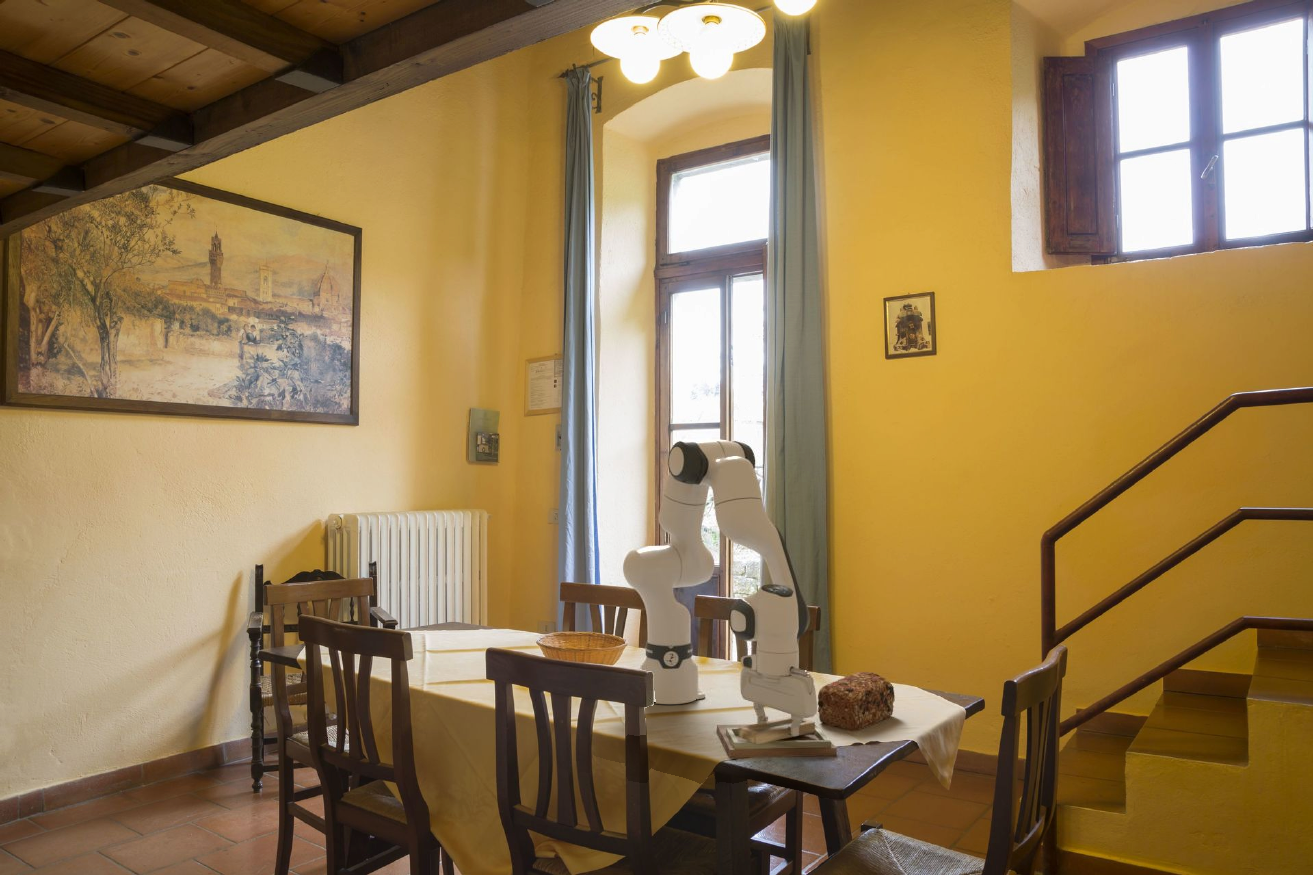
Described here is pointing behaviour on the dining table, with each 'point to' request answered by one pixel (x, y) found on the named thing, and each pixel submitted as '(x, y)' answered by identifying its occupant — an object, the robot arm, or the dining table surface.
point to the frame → (773, 730)
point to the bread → (856, 701)
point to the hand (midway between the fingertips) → (777, 730)
